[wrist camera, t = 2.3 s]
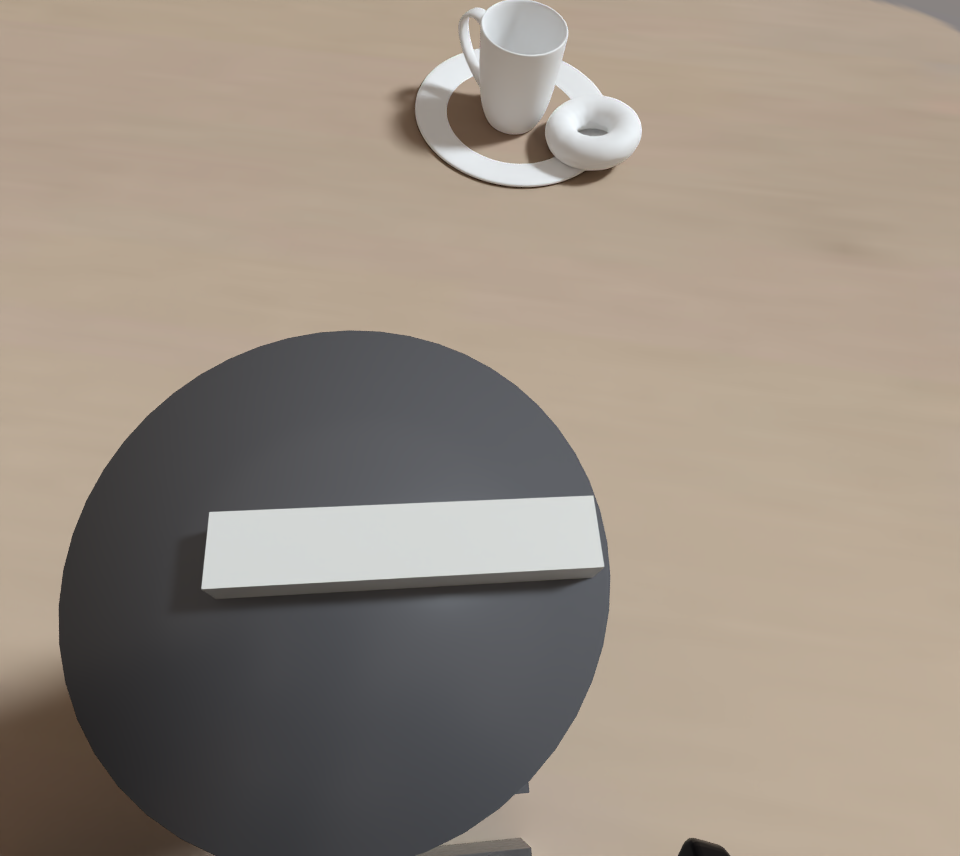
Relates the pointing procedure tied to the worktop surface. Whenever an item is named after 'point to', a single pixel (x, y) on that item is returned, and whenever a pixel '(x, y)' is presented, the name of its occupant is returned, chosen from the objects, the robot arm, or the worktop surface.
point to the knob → (334, 599)
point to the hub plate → (483, 849)
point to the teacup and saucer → (525, 99)
